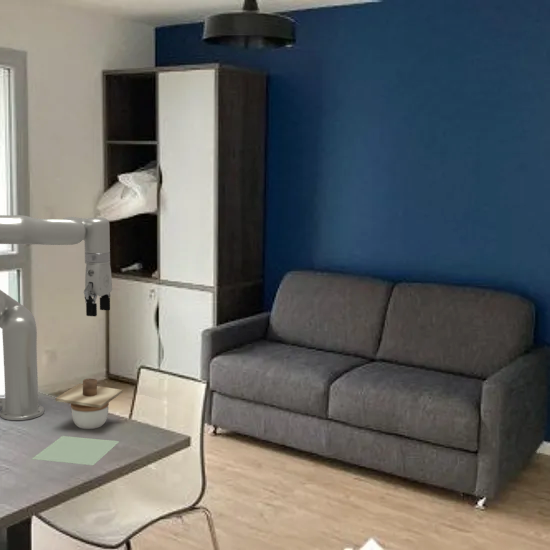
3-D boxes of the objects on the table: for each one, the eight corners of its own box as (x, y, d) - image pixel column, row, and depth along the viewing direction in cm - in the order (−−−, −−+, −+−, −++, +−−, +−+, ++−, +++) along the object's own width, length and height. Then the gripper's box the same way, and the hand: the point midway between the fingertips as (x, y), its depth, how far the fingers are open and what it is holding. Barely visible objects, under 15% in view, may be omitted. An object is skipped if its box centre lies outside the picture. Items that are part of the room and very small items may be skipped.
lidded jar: (99, 435, 214) (99, 403, 212) (64, 432, 216) (63, 400, 214) (115, 423, 224) (114, 392, 223) (81, 420, 226) (80, 389, 225)
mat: (31, 462, 194) (31, 459, 194) (62, 439, 210) (62, 435, 210) (93, 469, 191) (93, 465, 191) (119, 444, 207) (119, 441, 207)
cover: (55, 400, 213) (55, 384, 213) (79, 386, 227) (79, 370, 226) (100, 408, 210) (101, 391, 209) (122, 392, 224) (122, 376, 223)
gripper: (96, 262, 222) (97, 319, 225) (120, 255, 239) (120, 308, 241) (73, 261, 224) (74, 317, 226) (97, 254, 240) (98, 307, 243)
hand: (98, 312), depth 234 cm, fingers open, 9 cm apart
